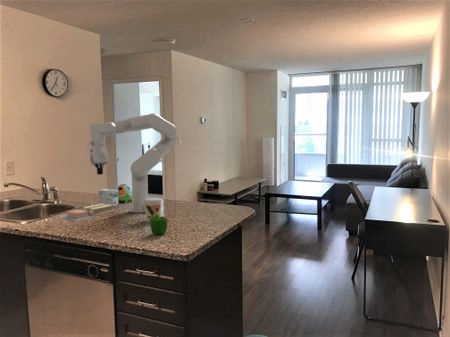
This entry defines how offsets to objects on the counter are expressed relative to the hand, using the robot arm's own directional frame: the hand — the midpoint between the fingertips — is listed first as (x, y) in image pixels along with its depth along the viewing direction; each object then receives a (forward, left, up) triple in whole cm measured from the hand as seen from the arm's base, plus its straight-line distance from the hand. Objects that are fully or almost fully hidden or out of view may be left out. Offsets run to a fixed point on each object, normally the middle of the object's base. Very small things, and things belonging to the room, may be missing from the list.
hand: (100, 174), depth 234 cm
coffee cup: (-41, -2, -24) cm, 48 cm away
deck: (+1, +2, -23) cm, 23 cm away
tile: (+1, +16, -20) cm, 26 cm away
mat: (+1, +17, -23) cm, 29 cm away
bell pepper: (-63, +16, -24) cm, 69 cm away
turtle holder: (+18, -32, -24) cm, 44 cm away
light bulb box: (+14, -16, -24) cm, 32 cm away
